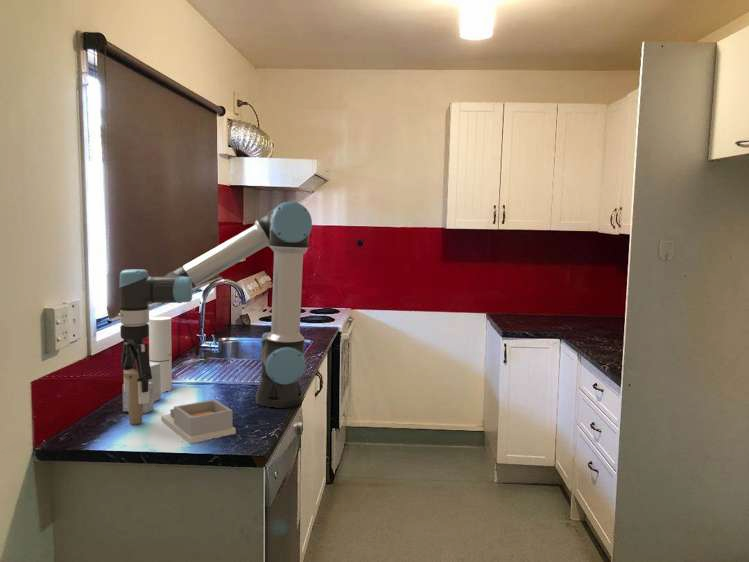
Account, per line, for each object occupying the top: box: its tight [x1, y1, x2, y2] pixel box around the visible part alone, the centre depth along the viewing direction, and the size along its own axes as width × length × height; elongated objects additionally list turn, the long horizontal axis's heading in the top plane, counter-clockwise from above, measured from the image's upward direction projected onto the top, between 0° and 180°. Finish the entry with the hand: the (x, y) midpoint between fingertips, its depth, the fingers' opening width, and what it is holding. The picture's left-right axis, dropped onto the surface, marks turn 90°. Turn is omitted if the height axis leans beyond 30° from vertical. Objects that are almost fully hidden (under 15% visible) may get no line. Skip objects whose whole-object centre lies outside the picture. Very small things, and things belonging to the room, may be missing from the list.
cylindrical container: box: [148, 316, 173, 393], centre depth 201 cm, size 7×7×25 cm
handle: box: [122, 369, 145, 425], centre depth 168 cm, size 5×6×15 cm
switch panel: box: [160, 399, 237, 445], centre depth 167 cm, size 13×22×6 cm, turn 39°
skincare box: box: [149, 362, 162, 402], centre depth 189 cm, size 6×4×12 cm
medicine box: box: [122, 382, 155, 414], centre depth 179 cm, size 8×4×9 cm, turn 77°
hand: (136, 397), depth 168 cm, fingers open, 13 cm apart
